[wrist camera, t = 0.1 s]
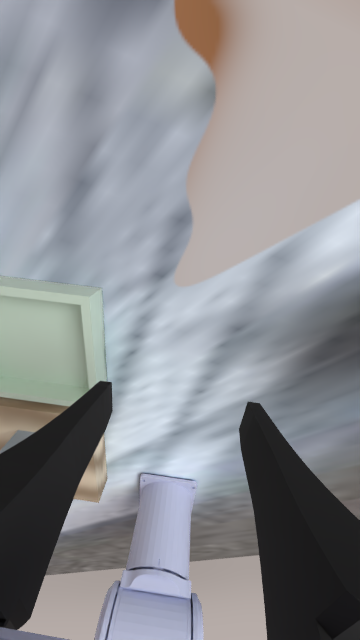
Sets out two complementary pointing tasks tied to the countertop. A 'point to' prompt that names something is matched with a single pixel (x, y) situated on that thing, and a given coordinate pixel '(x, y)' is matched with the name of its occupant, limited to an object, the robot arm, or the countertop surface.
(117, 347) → the countertop surface
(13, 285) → the tray
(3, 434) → the birch board
